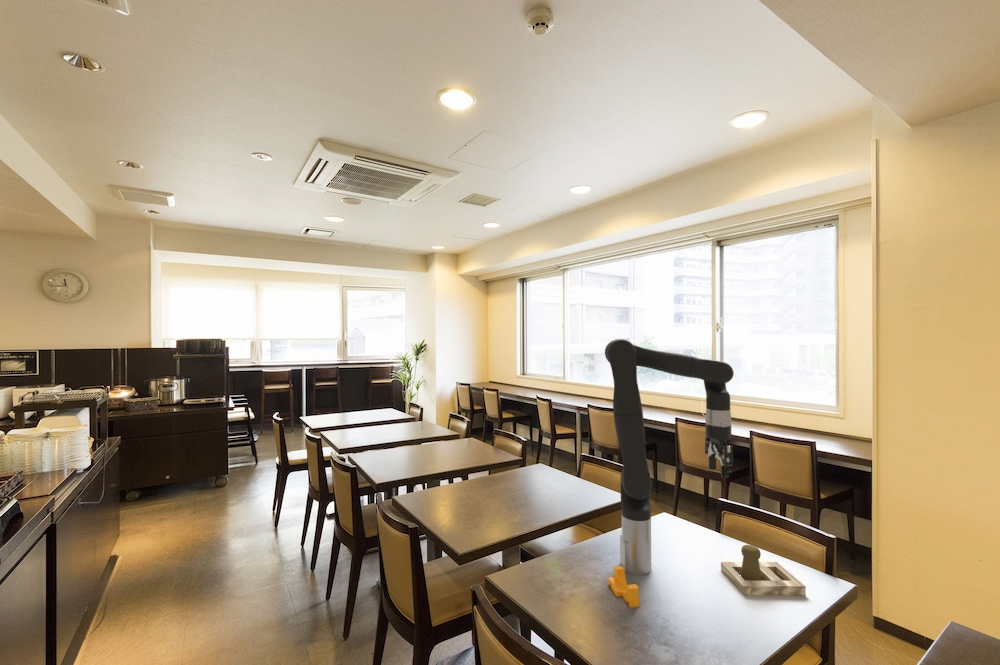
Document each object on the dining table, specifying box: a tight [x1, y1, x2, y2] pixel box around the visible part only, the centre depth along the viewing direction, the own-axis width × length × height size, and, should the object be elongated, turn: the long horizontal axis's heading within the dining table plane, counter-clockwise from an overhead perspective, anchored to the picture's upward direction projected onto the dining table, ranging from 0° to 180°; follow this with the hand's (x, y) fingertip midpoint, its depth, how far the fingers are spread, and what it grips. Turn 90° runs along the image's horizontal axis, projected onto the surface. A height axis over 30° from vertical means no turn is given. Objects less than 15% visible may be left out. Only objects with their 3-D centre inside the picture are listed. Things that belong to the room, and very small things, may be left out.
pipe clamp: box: [607, 565, 640, 608], centre depth 131 cm, size 12×4×6 cm, turn 7°
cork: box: [740, 544, 762, 581], centre depth 139 cm, size 6×6×11 cm
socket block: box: [720, 561, 807, 597], centre depth 139 cm, size 18×14×3 cm
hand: (718, 473), depth 145 cm, fingers open, 8 cm apart
